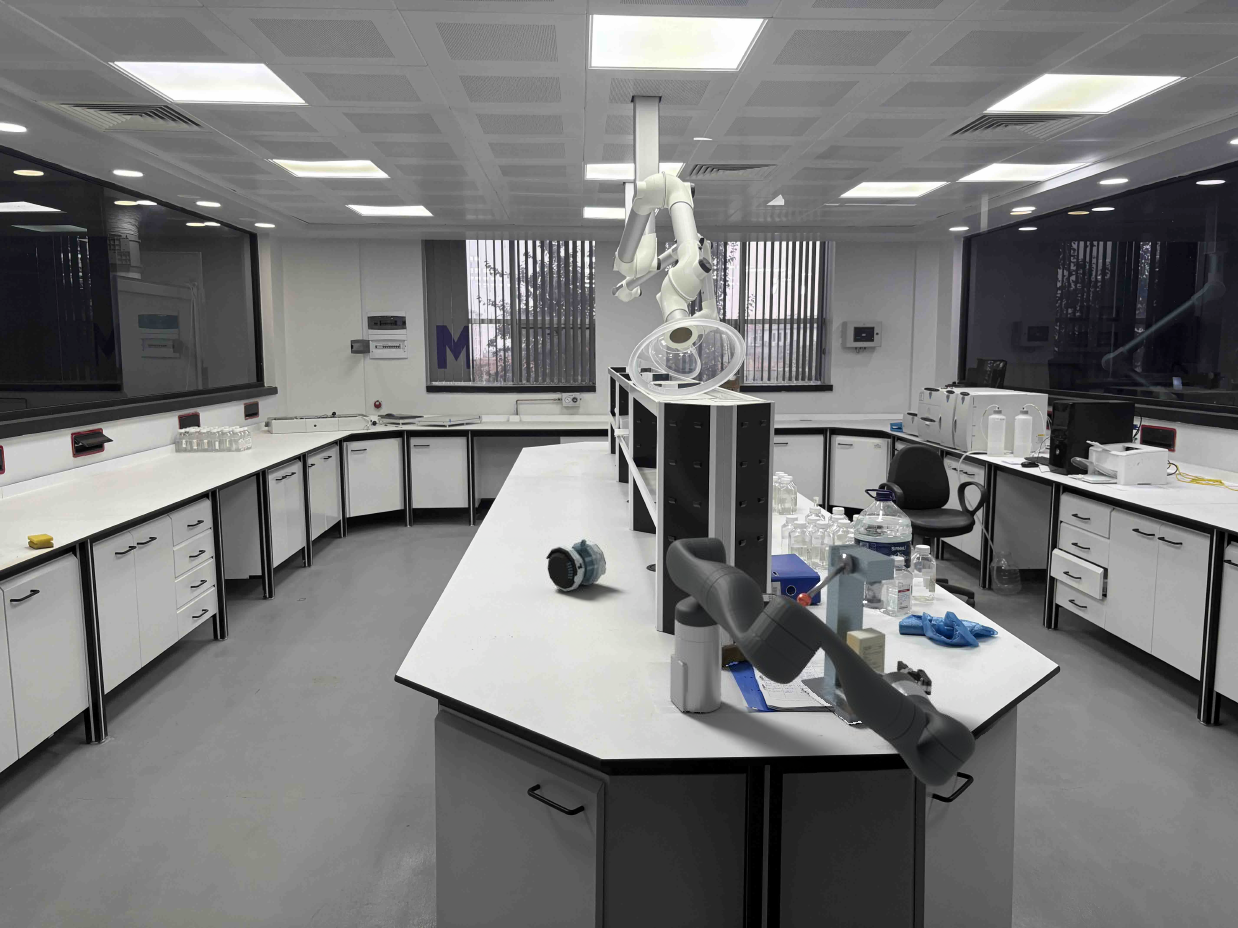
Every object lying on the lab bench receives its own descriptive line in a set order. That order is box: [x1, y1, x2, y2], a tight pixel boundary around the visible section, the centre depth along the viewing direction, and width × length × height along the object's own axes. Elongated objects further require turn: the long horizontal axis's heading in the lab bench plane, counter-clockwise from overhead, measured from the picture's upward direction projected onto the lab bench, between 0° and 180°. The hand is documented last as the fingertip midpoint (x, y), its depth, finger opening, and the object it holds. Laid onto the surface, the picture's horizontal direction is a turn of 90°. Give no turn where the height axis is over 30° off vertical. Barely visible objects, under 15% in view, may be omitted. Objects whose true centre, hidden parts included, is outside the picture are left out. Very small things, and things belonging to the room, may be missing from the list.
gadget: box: [545, 538, 607, 592], centre depth 234 cm, size 14×13×15 cm
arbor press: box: [796, 542, 896, 723], centre depth 156 cm, size 22×17×30 cm
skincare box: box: [847, 627, 886, 673], centre depth 156 cm, size 6×4×12 cm
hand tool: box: [721, 643, 748, 668], centre depth 181 cm, size 19×4×5 cm, turn 121°
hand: (876, 664), depth 152 cm, fingers open, 8 cm apart
